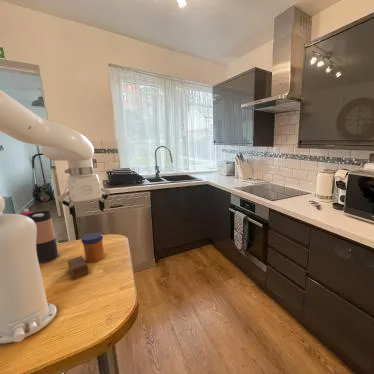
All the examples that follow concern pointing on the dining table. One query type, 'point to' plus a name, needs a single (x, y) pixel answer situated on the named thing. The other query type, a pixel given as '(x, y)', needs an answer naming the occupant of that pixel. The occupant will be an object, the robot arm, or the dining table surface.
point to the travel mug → (44, 236)
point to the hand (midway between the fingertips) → (88, 213)
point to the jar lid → (92, 238)
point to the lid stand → (78, 267)
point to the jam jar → (94, 251)
